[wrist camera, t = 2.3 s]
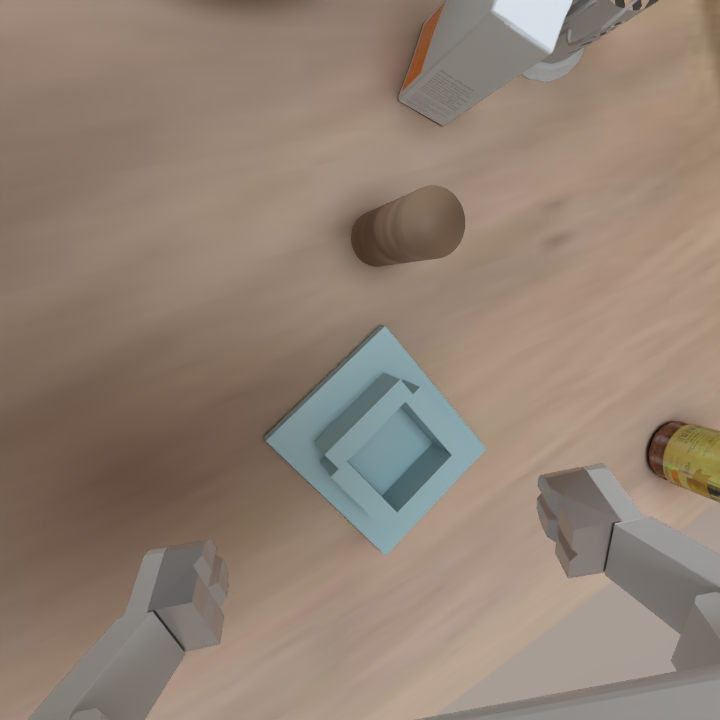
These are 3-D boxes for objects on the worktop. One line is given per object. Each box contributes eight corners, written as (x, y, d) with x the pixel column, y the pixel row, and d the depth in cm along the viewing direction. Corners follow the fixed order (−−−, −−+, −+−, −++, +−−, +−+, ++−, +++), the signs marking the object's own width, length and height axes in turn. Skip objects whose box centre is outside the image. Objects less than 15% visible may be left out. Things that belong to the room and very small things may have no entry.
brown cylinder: (340, 235, 34) (387, 216, 26) (379, 199, 35) (438, 170, 26) (374, 277, 35) (430, 273, 27) (411, 242, 36) (477, 228, 28)
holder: (263, 437, 34) (272, 454, 30) (380, 325, 36) (401, 329, 32) (381, 549, 39) (401, 577, 35) (479, 445, 40) (508, 460, 37)
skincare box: (421, 21, 34) (532, -112, 23) (469, 52, 35) (596, -58, 24) (393, 102, 34) (490, 9, 23) (442, 130, 36) (556, 55, 24)
